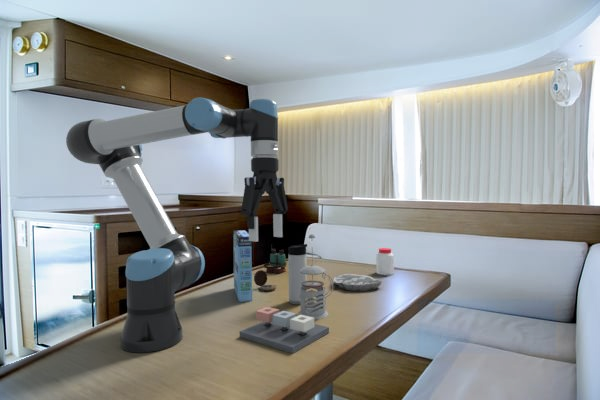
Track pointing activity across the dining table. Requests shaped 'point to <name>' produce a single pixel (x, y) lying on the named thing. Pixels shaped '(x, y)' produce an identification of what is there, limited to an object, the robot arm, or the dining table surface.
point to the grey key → (283, 319)
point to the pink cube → (266, 314)
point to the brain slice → (356, 282)
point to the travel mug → (296, 271)
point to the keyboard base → (283, 336)
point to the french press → (313, 292)
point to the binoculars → (276, 262)
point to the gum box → (242, 265)
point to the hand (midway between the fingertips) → (266, 238)
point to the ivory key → (302, 323)
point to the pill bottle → (385, 262)
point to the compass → (263, 281)
